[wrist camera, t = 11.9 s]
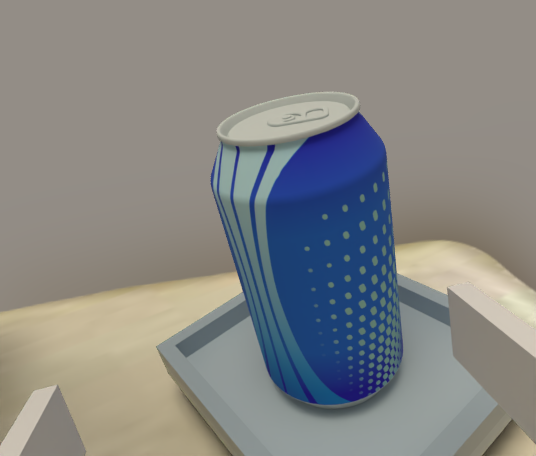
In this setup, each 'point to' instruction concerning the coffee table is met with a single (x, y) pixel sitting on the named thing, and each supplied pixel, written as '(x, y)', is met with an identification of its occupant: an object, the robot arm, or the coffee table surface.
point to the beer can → (313, 244)
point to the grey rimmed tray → (345, 419)
